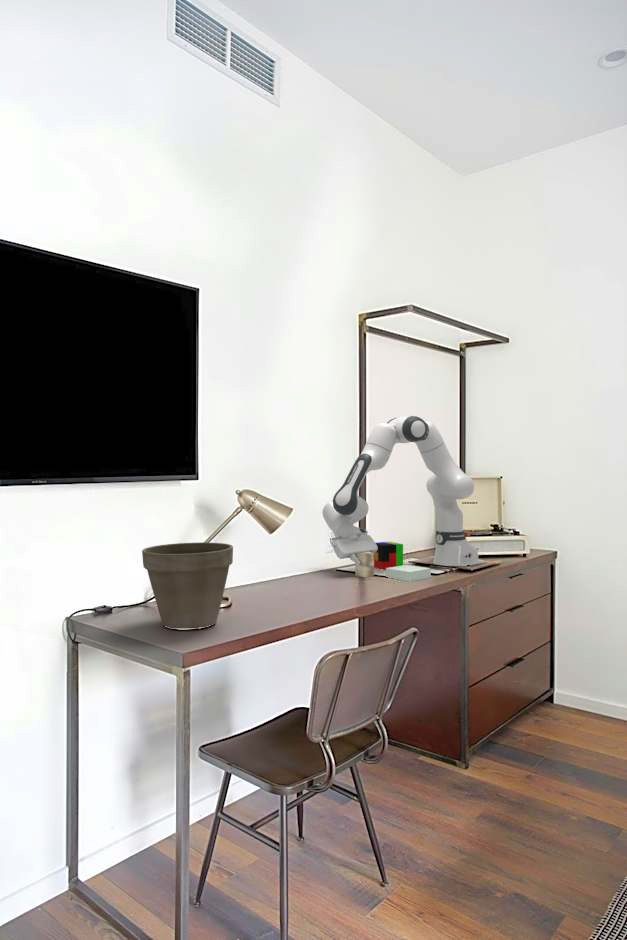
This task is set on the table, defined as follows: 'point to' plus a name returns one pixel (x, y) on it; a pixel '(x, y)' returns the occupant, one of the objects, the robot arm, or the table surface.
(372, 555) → the maple block
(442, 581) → the table surface
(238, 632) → the table surface
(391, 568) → the sage base block
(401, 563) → the puzzle toy
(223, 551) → the plant pot
